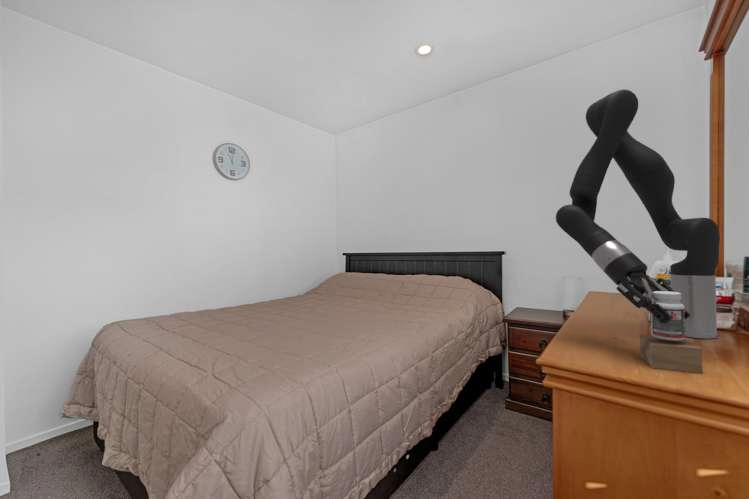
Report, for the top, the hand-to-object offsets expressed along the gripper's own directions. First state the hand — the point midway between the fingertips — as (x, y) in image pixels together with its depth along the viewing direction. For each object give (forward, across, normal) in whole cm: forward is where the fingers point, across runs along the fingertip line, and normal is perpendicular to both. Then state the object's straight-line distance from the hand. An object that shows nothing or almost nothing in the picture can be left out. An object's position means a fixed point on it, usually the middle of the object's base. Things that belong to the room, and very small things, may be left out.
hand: (676, 319), depth 69 cm
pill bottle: (+2, 0, +4) cm, 5 cm away
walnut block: (+6, 0, +8) cm, 10 cm away
